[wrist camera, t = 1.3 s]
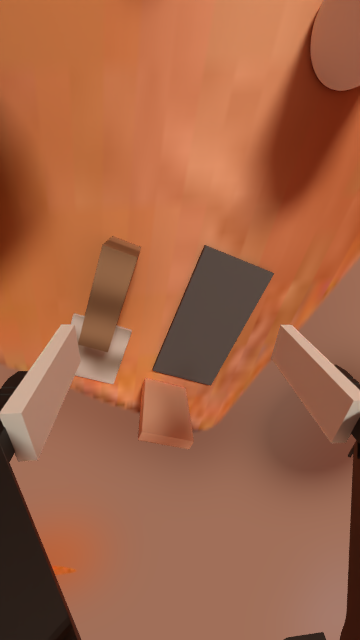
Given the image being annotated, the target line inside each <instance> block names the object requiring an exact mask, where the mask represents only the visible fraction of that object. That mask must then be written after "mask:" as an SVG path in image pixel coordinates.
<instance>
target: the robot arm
mask: <svg viewBox="0 0 360 640" xmlns="http://www.w3.org/2000/svg"><path fill="white" fill-rule="evenodd" d="M271 359H272V361H273V362H274V363H275V365H276V366H277V368H278V369H279V370H280V372H281V373H282V375H283V376H284V377H285V379H286V380H287V382H288V383H289V384H290V386H291V387H292V389H293V390H294V392H295V393H296V394H297V396H298V397H299V399H300V400H301V401H302V403H303V404H304V405H305V407H306V408H307V410H308V411H309V413H310V414H311V415H312V417H313V418H314V419H315V421H316V423H317V424H318V425H319V427H320V428H321V429H322V431H323V432H324V434H325V435H326V437H327V438H328V439H329V441H330V442H331V443H345V442H347V440H348V438H349V436H350V435H351V434H352V435H353V436H354V438H355V439H356V442H355V444H354V445H353V447H352V449H351V450H350V452H349V454H348V457H351V455H352V454H353V477H352V500H351V523H350V525H351V526H350V547H349V572H348V594H347V614H346V620H345V624H344V626H343V629H342V632H341V636H340V640H360V384H359V382H358V381H356V380H355V379H353V377H352V376H351V375H350V374H349V373H348V372H347V371H346V370H344V369H342V368H341V367H339V366H337V365H333V364H332V363H331V362H330V361H329V360H328V359H327V358H326V357H324V356H323V355H322V354H321V353H320V352H319V351H318V350H317V349H316V348H315V347H314V346H313V345H312V344H311V343H310V342H309V341H308V340H307V339H306V338H305V337H304V336H303V335H301V334H300V333H299V332H298V331H297V330H296V329H295V328H294V327H293V326H292V325H280V329H279V332H278V336H277V339H276V343H275V346H274V350H273V353H272V357H271ZM80 362H81V360H80V354H79V348H78V342H77V336H76V330H75V325H61V326H60V327H59V329H58V330H57V331H56V333H55V334H54V336H53V337H52V338H51V340H50V341H49V343H48V344H47V346H46V347H45V348H44V350H43V351H42V353H41V354H40V356H39V357H38V358H37V360H36V361H35V363H34V364H33V366H32V367H31V368H30V370H29V371H18V372H17V373H15V374H14V375H13V376H11V377H10V378H8V380H7V381H6V382H5V383H4V385H3V386H2V388H1V389H0V640H81V638H80V635H79V633H78V630H77V628H76V625H75V623H74V620H73V618H72V616H71V613H70V611H69V608H68V606H67V603H66V601H65V599H64V596H63V593H62V591H61V589H60V586H59V584H58V581H57V579H56V576H55V574H54V571H53V569H52V566H51V564H50V561H49V559H48V557H47V554H46V552H45V549H44V547H43V544H42V542H41V539H40V537H39V534H38V532H37V529H36V527H35V525H34V522H33V520H32V517H31V515H30V512H29V510H28V507H27V505H26V502H25V500H24V498H23V495H22V493H21V490H20V488H19V485H18V483H17V481H16V478H15V475H14V473H13V471H12V468H11V466H10V463H9V462H10V460H11V458H12V457H13V455H14V453H15V455H16V457H17V460H18V461H34V460H38V459H39V457H40V455H41V452H42V450H43V447H44V445H45V443H46V440H47V438H48V436H49V434H50V431H51V429H52V427H53V424H54V422H55V419H56V417H57V415H58V413H59V410H60V408H61V406H62V404H63V401H64V399H65V396H66V394H67V392H68V390H69V387H70V385H71V383H72V381H73V378H74V376H75V374H76V371H77V369H78V367H79V364H80ZM284 640H326V638H325V636H324V633H323V632H321V633H314V634H308V635H302V636H295V637H288V638H286V639H284Z"/></svg>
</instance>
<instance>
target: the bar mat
mask: <svg viewBox="0 0 360 640" xmlns="http://www.w3.org/2000/svg"><path fill="white" fill-rule="evenodd" d="M273 275H274V273H272V272H270V271H267V270H265V269H262V268H260V267H258V266H255V265H253V264H250V263H248V262H245V261H243V260H240V259H238V258H235V257H233V256H230V255H228V254H226V253H223V252H221V251H218V250H216V249H213V248H211V247H208V246H206V245H205V246H204V248H203V250H202V253H201V255H200V258H199V260H198V262H197V265H196V267H195V269H194V272H193V274H192V277H191V279H190V281H189V284H188V286H187V288H186V291H185V293H184V296H183V298H182V300H181V303H180V305H179V307H178V310H177V312H176V314H175V317H174V319H173V322H172V324H171V326H170V329H169V331H168V333H167V336H166V338H165V341H164V343H163V345H162V348H161V350H160V352H159V355H158V357H157V360H156V362H155V364H154V367H153V371H156V372H160V373H164V374H168V375H172V376H176V377H180V378H183V379H187V380H191V381H195V382H199V383H203V384H207V385H211V384H212V382H213V381H214V379H215V377H216V375H217V374H218V372H219V370H220V368H221V366H222V365H223V363H224V361H225V359H226V358H227V356H228V354H229V352H230V351H231V349H232V347H233V345H234V344H235V342H236V340H237V338H238V336H239V335H240V333H241V331H242V329H243V328H244V326H245V324H246V322H247V321H248V319H249V317H250V315H251V314H252V312H253V310H254V308H255V306H256V305H257V303H258V301H259V299H260V298H261V296H262V294H263V292H264V291H265V289H266V287H267V285H268V283H269V282H270V280H271V278H272V276H273Z"/></svg>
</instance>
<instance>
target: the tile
mask: <svg viewBox="0 0 360 640" xmlns="http://www.w3.org/2000/svg"><path fill="white" fill-rule="evenodd" d="M138 440H141V441H146V442H151V443H157V444H162V445H168V446H173V447H180V448H184V449H189V448H190V447H191V445H192V444H193V442H194V440H193V433H192V426H191V420H190V413H189V406H188V400H187V393H186V388H185V387H181V386H177V385H173V384H169V383H165V382H161V381H156V380H152V379H148V378H145V380H144V382H143V385H142V396H141V409H140V421H139V434H138Z"/></svg>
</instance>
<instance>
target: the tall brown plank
mask: <svg viewBox="0 0 360 640" xmlns="http://www.w3.org/2000/svg"><path fill="white" fill-rule="evenodd" d="M140 249H141V247H140V246H137V245H135V244H132V243H129V242H127V241H124V240H122V239H119V238H116V237H114V236H112V237H111V238H110V239H109V240H108V241H106V242H105V243H104V244H103V245H102V249H101V253H100V257H99V261H98V265H97V269H96V273H95V277H94V281H93V285H92V289H91V293H90V297H89V301H88V305H87V309H86V313H85V316H82V315H79V314H75V313H74V314H73V318H72V322H71V325H75V330H76V336H77V342H78V348H79V354H80V360H81V362H80V364H79V367H78V369H77V371H76V374H75V376H80V377H84V378H88V379H93V380H97V381H101V382H106V383H110V384H114V381H115V378H116V375H117V372H118V369H119V367H120V364H121V361H122V358H123V355H124V352H125V349H126V346H127V344H128V341H129V338H130V335H131V332H132V330H130V329H127V328H123V327H120V326H116V325H117V322H118V319H119V316H120V312H121V309H122V306H123V303H124V300H125V297H126V293H127V290H128V287H129V284H130V281H131V278H132V274H133V271H134V268H135V265H136V262H137V259H138V255H139V252H140Z"/></svg>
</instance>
